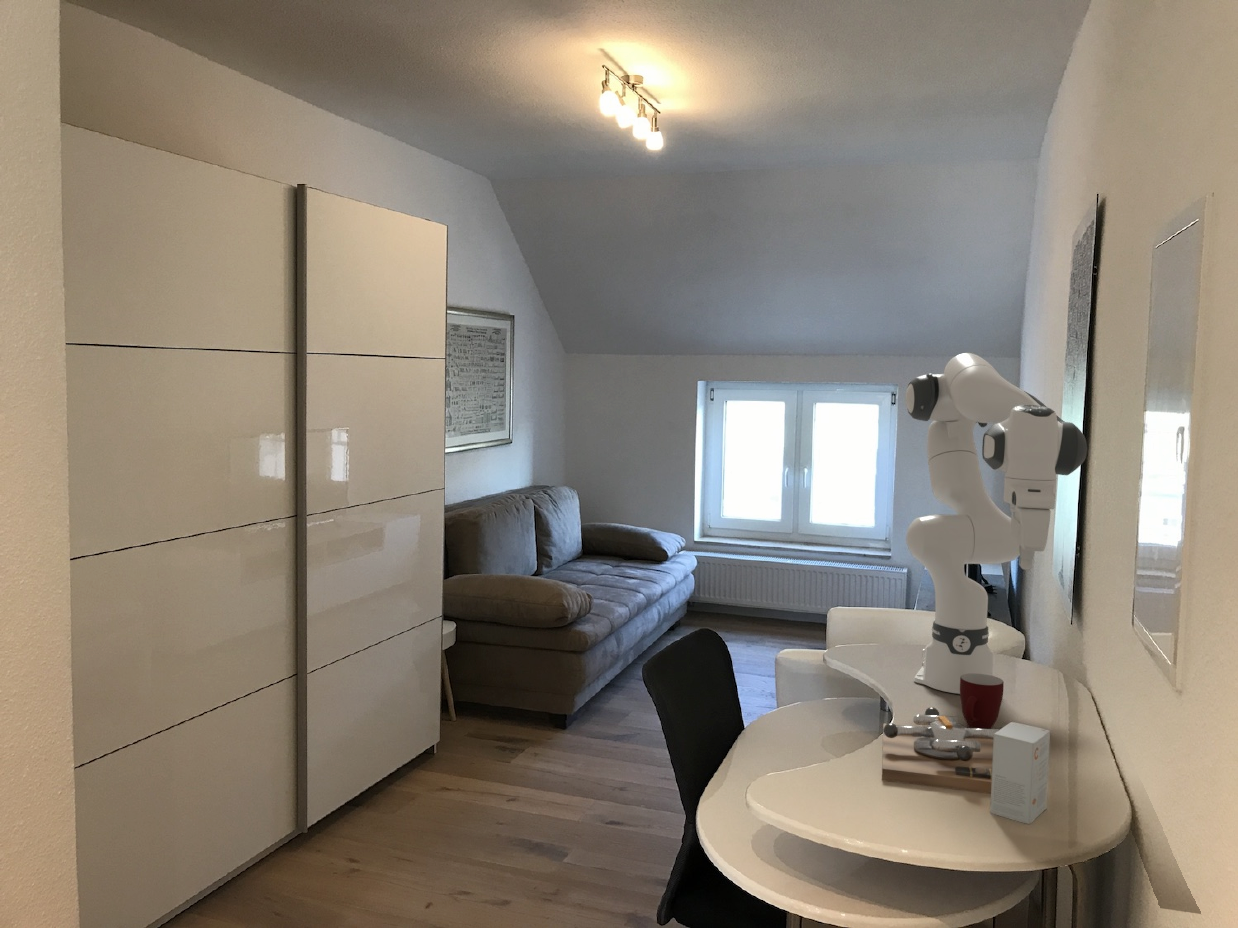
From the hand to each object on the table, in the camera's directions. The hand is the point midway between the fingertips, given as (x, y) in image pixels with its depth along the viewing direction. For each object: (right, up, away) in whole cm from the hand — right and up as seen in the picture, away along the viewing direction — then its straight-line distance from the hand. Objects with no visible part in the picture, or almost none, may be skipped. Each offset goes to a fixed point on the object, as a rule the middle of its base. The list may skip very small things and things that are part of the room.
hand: (1025, 568), depth 183 cm
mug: (-4, -33, +12) cm, 36 cm away
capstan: (-16, -32, -6) cm, 36 cm away
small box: (-12, -36, -25) cm, 46 cm away
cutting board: (-16, -34, -5) cm, 38 cm away
